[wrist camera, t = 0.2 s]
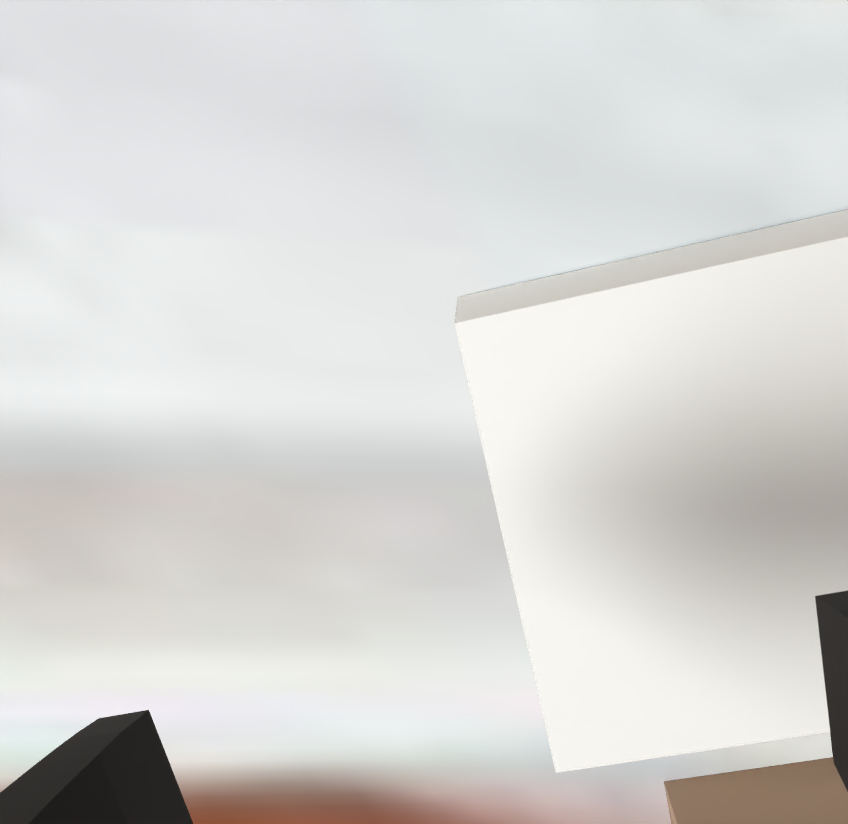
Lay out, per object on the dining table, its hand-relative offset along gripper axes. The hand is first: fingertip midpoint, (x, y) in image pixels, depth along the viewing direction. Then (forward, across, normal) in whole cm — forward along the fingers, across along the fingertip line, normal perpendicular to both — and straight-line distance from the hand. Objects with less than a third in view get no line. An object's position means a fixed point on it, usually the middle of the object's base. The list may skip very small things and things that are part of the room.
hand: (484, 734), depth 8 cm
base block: (+10, -5, +2) cm, 11 cm away
